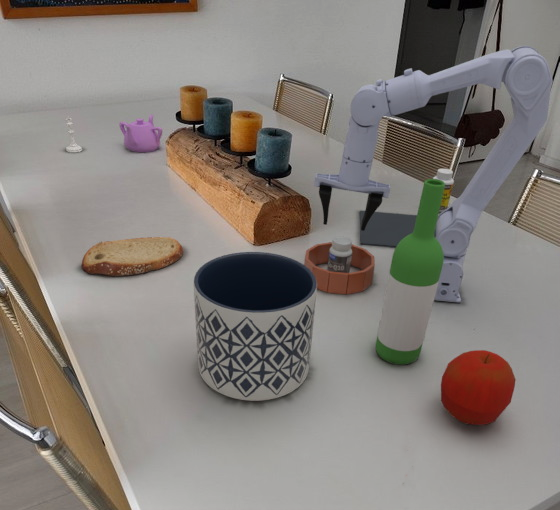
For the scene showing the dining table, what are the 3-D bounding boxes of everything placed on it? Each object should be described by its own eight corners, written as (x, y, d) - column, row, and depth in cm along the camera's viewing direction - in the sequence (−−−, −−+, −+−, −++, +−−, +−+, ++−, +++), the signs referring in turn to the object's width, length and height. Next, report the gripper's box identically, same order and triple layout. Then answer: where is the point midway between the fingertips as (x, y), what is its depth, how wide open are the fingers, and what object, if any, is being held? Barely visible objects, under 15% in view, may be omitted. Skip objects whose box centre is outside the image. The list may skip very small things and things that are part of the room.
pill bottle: (322, 278, 115) (326, 241, 110) (331, 269, 118) (336, 233, 113) (343, 284, 113) (348, 247, 108) (352, 275, 117) (357, 238, 111)
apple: (488, 392, 88) (511, 333, 80) (511, 437, 80) (538, 376, 72) (427, 392, 87) (443, 332, 80) (444, 437, 79) (464, 375, 72)
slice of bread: (189, 249, 123) (188, 233, 120) (153, 286, 109) (151, 269, 107) (117, 236, 126) (114, 221, 124) (74, 271, 112) (70, 255, 110)
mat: (445, 252, 128) (446, 250, 127) (360, 244, 129) (360, 242, 128) (435, 218, 143) (436, 217, 143) (359, 211, 144) (360, 210, 144)
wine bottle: (425, 350, 96) (469, 180, 77) (410, 372, 91) (454, 196, 72) (384, 335, 99) (417, 168, 80) (367, 357, 94) (399, 183, 75)
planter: (176, 364, 90) (167, 275, 79) (257, 324, 100) (259, 241, 90) (249, 421, 80) (251, 327, 70) (331, 370, 90) (342, 283, 80)
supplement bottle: (436, 214, 146) (445, 175, 139) (422, 206, 149) (430, 169, 143) (451, 210, 148) (460, 172, 142) (436, 203, 152) (444, 166, 145)
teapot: (128, 155, 172) (124, 125, 166) (120, 143, 182) (116, 114, 176) (165, 152, 176) (163, 123, 170) (155, 140, 186) (153, 112, 180)
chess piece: (65, 148, 174) (58, 114, 168) (81, 147, 176) (75, 113, 170) (67, 153, 171) (60, 118, 165) (83, 151, 173) (77, 117, 166)
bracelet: (372, 297, 110) (375, 277, 107) (301, 290, 110) (302, 270, 108) (370, 264, 121) (373, 245, 118) (306, 258, 122) (307, 239, 119)
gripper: (395, 156, 104) (378, 223, 113) (320, 145, 105) (310, 212, 113) (396, 168, 99) (379, 237, 108) (318, 156, 99) (307, 226, 108)
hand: (343, 225), depth 110 cm, fingers open, 7 cm apart
